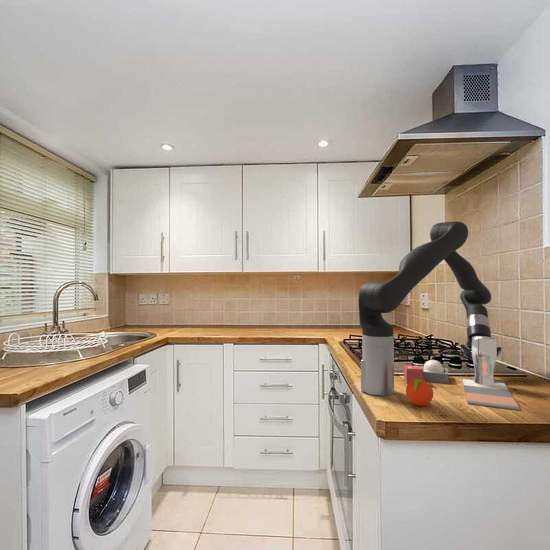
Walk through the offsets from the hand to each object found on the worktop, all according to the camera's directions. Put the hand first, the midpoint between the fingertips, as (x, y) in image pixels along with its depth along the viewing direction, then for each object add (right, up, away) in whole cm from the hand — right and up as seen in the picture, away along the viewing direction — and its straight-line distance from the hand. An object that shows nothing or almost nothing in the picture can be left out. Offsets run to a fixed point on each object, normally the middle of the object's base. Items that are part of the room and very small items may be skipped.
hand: (482, 370), depth 117 cm
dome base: (-14, -4, +4) cm, 16 cm away
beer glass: (-2, -3, -4) cm, 5 cm away
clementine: (-30, -4, -22) cm, 38 cm away
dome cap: (-14, -4, +4) cm, 16 cm away
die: (-23, -4, 0) cm, 23 cm away
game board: (-5, -4, -11) cm, 13 cm away
